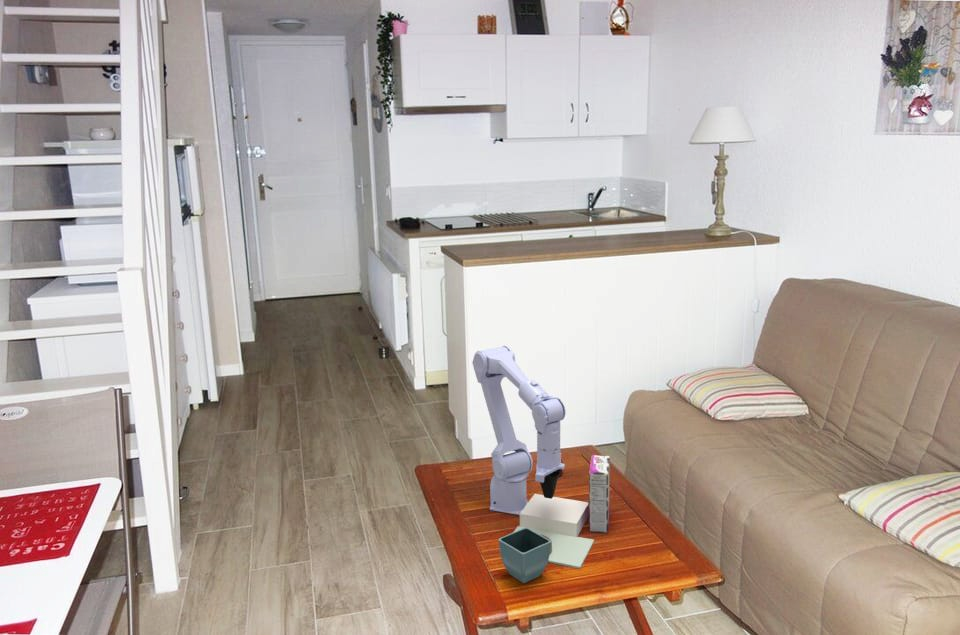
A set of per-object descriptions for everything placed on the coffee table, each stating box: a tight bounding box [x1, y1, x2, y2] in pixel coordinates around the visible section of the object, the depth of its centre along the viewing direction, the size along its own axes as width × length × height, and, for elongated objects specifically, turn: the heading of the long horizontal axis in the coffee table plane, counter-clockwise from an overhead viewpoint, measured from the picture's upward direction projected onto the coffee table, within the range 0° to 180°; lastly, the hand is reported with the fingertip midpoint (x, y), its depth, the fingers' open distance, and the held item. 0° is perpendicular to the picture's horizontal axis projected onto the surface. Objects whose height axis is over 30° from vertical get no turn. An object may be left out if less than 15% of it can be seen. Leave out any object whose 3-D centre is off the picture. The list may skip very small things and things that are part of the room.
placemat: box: [513, 525, 595, 570], centre depth 181 cm, size 20×13×1 cm, turn 67°
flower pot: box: [498, 527, 551, 584], centre depth 169 cm, size 9×9×9 cm
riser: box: [519, 493, 589, 537], centre depth 193 cm, size 15×12×4 cm
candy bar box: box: [588, 454, 611, 534], centre depth 191 cm, size 11×5×16 cm, turn 168°
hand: (548, 497), depth 187 cm, fingers closed
